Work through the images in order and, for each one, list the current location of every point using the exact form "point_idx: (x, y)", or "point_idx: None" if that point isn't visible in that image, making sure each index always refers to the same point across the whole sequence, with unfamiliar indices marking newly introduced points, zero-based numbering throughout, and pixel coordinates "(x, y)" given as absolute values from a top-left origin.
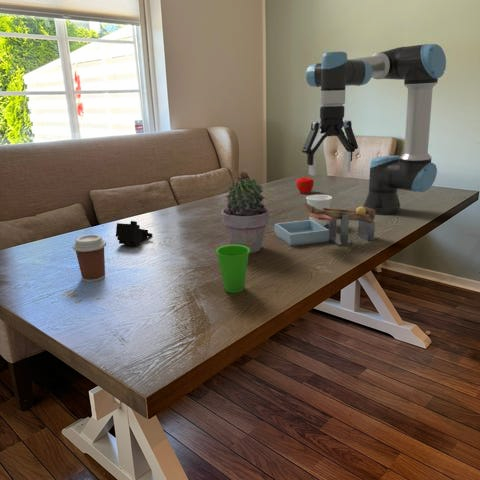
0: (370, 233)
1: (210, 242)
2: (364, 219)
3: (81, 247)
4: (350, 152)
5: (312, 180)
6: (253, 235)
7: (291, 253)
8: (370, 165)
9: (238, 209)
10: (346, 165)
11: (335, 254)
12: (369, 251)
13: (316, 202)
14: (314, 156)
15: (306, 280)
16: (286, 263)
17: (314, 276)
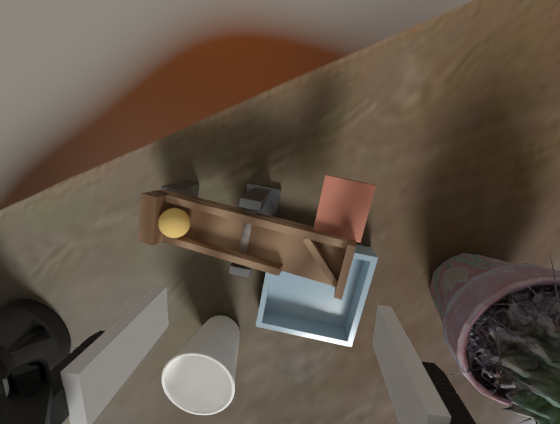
0: (185, 184)
1: None
2: (187, 196)
3: None
4: (69, 369)
5: None
6: (508, 263)
7: (400, 206)
8: None
9: None
10: (148, 323)
11: (322, 148)
12: (244, 123)
13: (224, 361)
14: (441, 405)
15: (491, 43)
16: (453, 158)
17: (459, 55)
